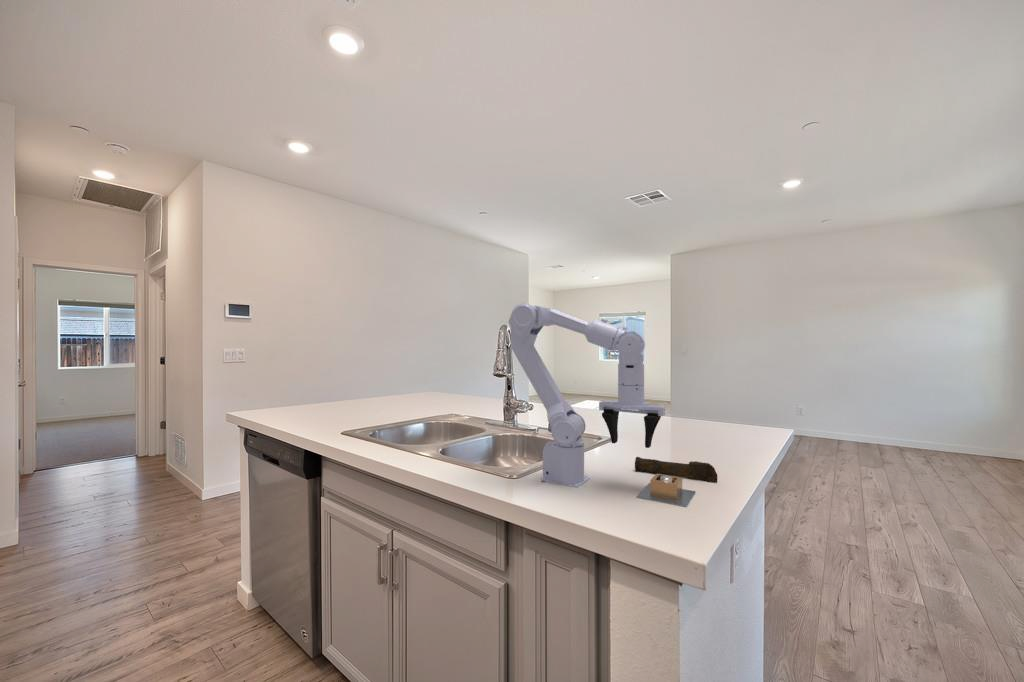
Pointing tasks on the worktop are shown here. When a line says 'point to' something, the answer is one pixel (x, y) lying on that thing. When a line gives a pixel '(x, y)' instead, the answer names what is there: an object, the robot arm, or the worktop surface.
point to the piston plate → (681, 501)
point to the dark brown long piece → (678, 469)
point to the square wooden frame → (666, 487)
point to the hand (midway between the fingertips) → (630, 444)
